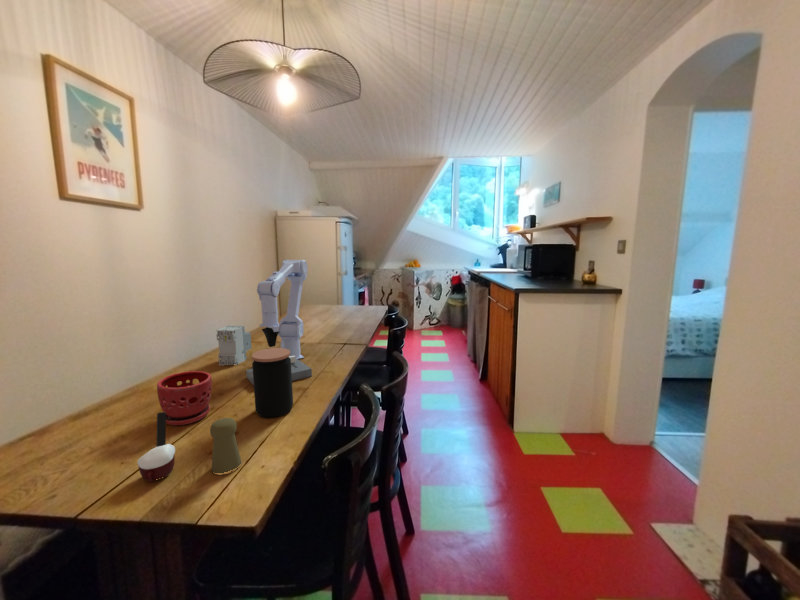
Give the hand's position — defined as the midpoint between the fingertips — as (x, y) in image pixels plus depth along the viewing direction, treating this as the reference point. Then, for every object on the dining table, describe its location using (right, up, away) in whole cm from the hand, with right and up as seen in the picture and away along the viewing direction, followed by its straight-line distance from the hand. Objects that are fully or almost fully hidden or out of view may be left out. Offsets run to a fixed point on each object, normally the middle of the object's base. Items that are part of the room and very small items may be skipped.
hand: (271, 346), depth 132 cm
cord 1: (-7, -11, +1) cm, 13 cm away
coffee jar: (+12, -15, -30) cm, 36 cm away
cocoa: (-2, -20, -59) cm, 62 cm away
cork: (+11, -20, -56) cm, 60 cm away
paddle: (+7, -7, +2) cm, 10 cm away
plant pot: (-11, -16, -34) cm, 39 cm away
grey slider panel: (+4, -11, -4) cm, 13 cm away
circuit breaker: (-21, -8, +15) cm, 27 cm away
